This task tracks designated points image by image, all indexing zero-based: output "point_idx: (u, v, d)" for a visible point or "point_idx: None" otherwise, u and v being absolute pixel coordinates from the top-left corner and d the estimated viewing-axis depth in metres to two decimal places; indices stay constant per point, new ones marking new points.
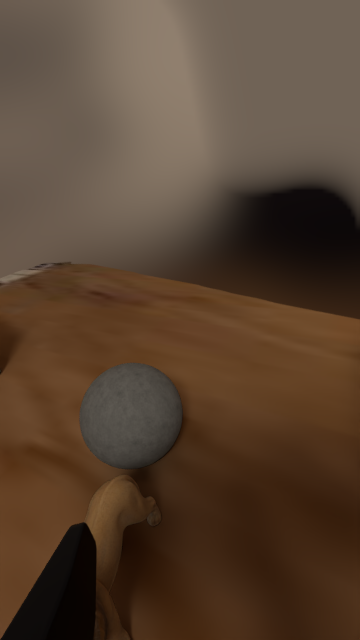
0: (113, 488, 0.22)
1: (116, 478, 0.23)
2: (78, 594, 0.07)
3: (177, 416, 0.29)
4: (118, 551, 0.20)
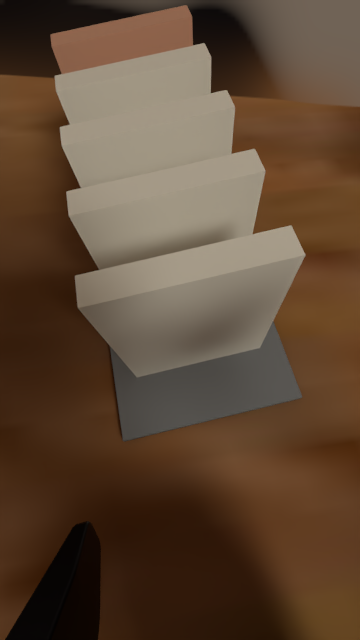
0: None
1: None
2: (83, 593, 0.07)
3: None
4: None
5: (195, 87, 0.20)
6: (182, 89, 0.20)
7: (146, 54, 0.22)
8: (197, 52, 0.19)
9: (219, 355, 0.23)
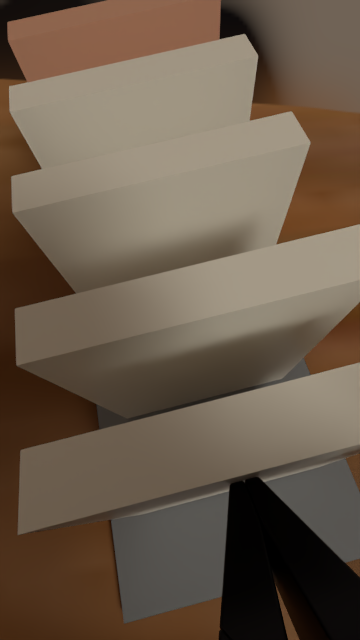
0: None
1: None
2: None
3: None
4: None
5: (228, 103, 0.13)
6: (209, 105, 0.13)
7: (151, 52, 0.15)
8: (235, 48, 0.12)
9: None
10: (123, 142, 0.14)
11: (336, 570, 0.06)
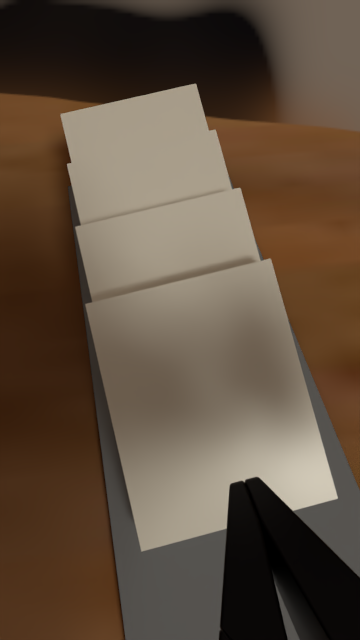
0: None
1: None
2: None
3: None
4: None
5: (186, 107, 0.22)
6: (174, 108, 0.22)
7: None
8: None
9: None
10: (121, 130, 0.21)
11: (336, 570, 0.06)
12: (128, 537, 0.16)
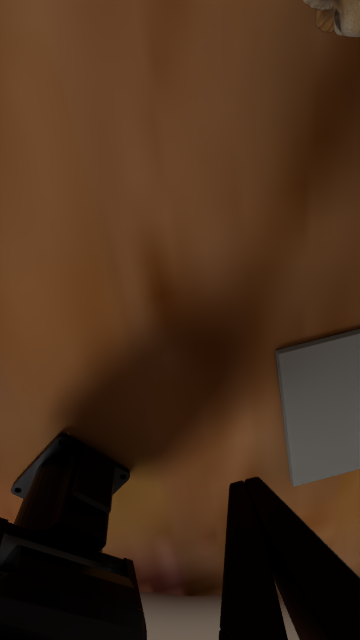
0: None
1: None
2: None
3: None
4: None
5: None
6: None
7: None
8: None
9: None
10: None
11: (336, 570, 0.06)
12: None
